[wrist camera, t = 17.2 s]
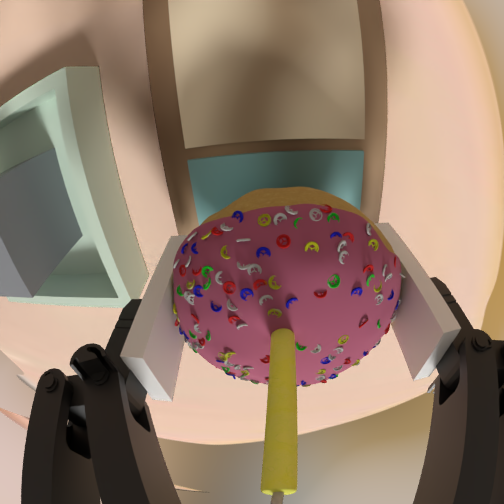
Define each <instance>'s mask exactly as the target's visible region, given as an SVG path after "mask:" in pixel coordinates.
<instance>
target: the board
mask: <svg viewBox="0 0 504 504" xmlns="http://www.w3.org/2000/svg"><path fill="white" fill-rule="evenodd" d="M143 18H144V32H145V43H146V54H147V63H148V72H149V80H150V88H151V95H152V102H153V109H154V115H155V121H156V128H157V134H158V139H159V145H160V150H161V156H162V161H163V166H164V171H165V176H166V181H167V186H168V191H169V195H170V200H171V204H172V209H173V213H174V217H175V222H176V226H177V230H178V234H179V236H181V235H187V236H188V235H189V234H190V233H191V232H192V231H193V230H194V229H195V228H197V227H198V226H200V225H201V224H202V222H203V221H204V220H205V219H206V218H208V217H209V216H211V215H212V214H214V213H217V212H218V211H220V210H222V209H223V208H225V207H227V206H228V205H229V204H231V203H232V202H234V201H235V200H237V199H238V198H240V197H242V196H243V195H245V194H247V193H249V192H251V191H254V190H257V189H264V188H287V187H309V188H314V189H318V190H322V191H325V192H327V193H330V194H332V195H335V196H337V197H339V198H341V199H343V200H345V201H347V202H348V203H350V204H351V205H353V206H354V207H356V208H357V209H358V210H360V211H361V212H362V213H363V214H364V215H366V216H367V217H368V218H369V219H370V220H371V221H372V222H373V223H378V221H379V214H380V206H381V198H382V190H383V180H384V169H385V156H386V139H387V68H386V52H385V40H384V30H383V22H382V14H381V8H380V1H379V0H143Z"/></svg>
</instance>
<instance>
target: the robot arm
mask: <svg viewBox="0 0 504 504" xmlns="http://www.w3.org/2000/svg"><path fill="white" fill-rule="evenodd" d="M374 224H375V225H376V226H377V227H378V228H379V230H380V231H381V232H382V234H383V235H384V236H385V238H386V239H387V240H388V242H389V243H390V245H391V246H392V248H393V251H394V253H395V254H396V255H397V256H398V257H399V259H400V263H401V273H402V274H403V275H404V276H405V278H404V277H402V276H401V289H400V295H399V299H401V303H400V305H399V306H398V307H397V309H396V310H395V311H396V312H397V317H396V319H395V320H394V321H393V322H391V325H392V328H393V330H394V332H395V335H396V337H397V340H398V342H399V345H400V347H401V350H402V352H403V355H404V357H405V360H406V363H407V365H408V368H409V371H410V373H411V376H412V379H413V381H414V380H418V379H421V378H425V377H428V376H430V375H431V373H432V372H433V371H434V369H435V368H437V370H438V373H439V375H438V376H437V378H436V379H435V380H434V382H433V383H432V384H431V385H430V387H429V388H428V391H427V393H430V392H431V391H432V389H433V388H434V387H435V390H434V392H433V393H434V403H433V413H432V420H431V427H430V434H429V440H428V446H427V451H426V456H425V461H424V465H423V469H422V474H421V478H420V482H419V485H418V489H417V492H416V495H415V499H414V502H413V504H504V341H501V340H492V339H491V338H490V337H489V336H488V334H486V333H485V332H484V331H482V330H479V329H473V327H472V325H471V324H470V322H469V320H468V319H467V317H466V316H465V314H464V312H463V311H462V309H461V308H460V306H459V304H458V303H456V300H455V298H454V297H453V295H451V292H450V291H449V289H448V288H447V286H446V285H445V284H444V283H443V282H441V281H440V280H439V279H438V278H436V277H433V278H429V276H428V275H427V273H426V272H425V270H424V269H423V267H422V266H421V265H420V263H419V262H418V260H417V259H416V258H415V256H414V255H413V254H412V252H411V251H410V250H409V248H408V247H407V246H406V244H405V243H404V242H403V240H402V239H401V238H400V237H399V235H398V234H397V233H396V231H395V230H394V229H393V228H392V227H391V225H390V224H389V223H374ZM186 237H187V235H181V236H171V237H170V240H169V242H168V244H167V246H166V248H165V250H164V252H163V254H162V256H161V258H160V261H159V263H158V265H157V267H156V269H155V271H154V274H153V276H152V278H151V280H150V283H149V285H148V287H147V290H146V292H145V294H144V297H143V299H131V301H130V302H129V303H128V304H127V305H126V306H125V307H124V308H123V310H122V312H121V314H120V316H119V320H118V321H117V323H116V325H115V329H114V330H113V332H112V335H111V337H110V339H109V342H108V344H107V347H106V349H105V350H104V349H103V348H102V347H101V346H100V345H97V344H94V343H93V344H86V345H84V346H82V347H80V348H79V349H78V350H77V351H76V352H75V353H74V354H73V356H72V358H71V361H70V366H71V367H72V369H73V370H74V371H75V372H76V373H77V374H78V375H73V376H66V375H65V374H64V373H63V372H62V371H61V370H59V369H55V368H54V369H49V370H48V371H46V372H45V373H44V374H43V375H42V376H41V377H40V380H39V382H38V385H37V389H36V393H35V397H34V401H33V405H32V410H31V415H30V420H29V425H28V430H27V437H26V444H25V451H24V459H23V470H22V489H21V504H100V498H101V501H102V504H181V502H180V500H179V497H178V495H177V492H176V490H175V487H174V485H173V482H172V480H171V477H170V474H169V472H168V469H167V466H166V463H165V461H164V457H163V455H162V451H161V448H160V446H159V442H158V439H157V436H156V432H155V429H154V425H153V422H152V418H151V414H150V411H149V407H148V405H147V403H146V402H145V399H146V395H147V393H148V394H149V395H150V397H151V398H152V399H154V400H163V401H173V396H174V390H175V385H176V380H177V375H178V370H179V365H180V360H181V355H182V351H183V346H184V341H185V340H184V334H183V335H181V334H180V332H179V325H178V326H175V321H176V319H177V317H176V314H175V313H174V312H173V305H174V282H173V263H174V259H175V256H176V253H177V251H178V249H179V247H180V245H181V244H182V242H183V241H184V240H185V238H186ZM68 420H69V422H68ZM67 422H68V424H67Z"/></svg>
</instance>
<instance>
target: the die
mask: <svg viewBox="0 0 504 504" xmlns="http://www.w3.org/2000/svg"><path fill="white" fill-rule="evenodd" d="M82 236H83V234H82V232H81V229H80V227H79V224H78V221H77V219H76V216H75V213H74V210H73V208H72V205H71V202H70V199H69V196H68V193H67V189H66V186H65V183H64V180H63V176H62V173H61V169H60V166H59V162H58V158H57V154H56V150H55V148H52V149H50V150H48V151H45V152H43V153H41V154H38V155H36V156H34V157H32V158H30V159H28V160H25V161H23V162H21V163H19V164H17V165H15V166H13V167H11V168H9V169H7V170H6V171H4V172H2V173H0V296H6V297H24V298H33V297H34V296H35V294H36V293H37V292H38V290H39V289H40V287H41V286H42V285H43V283H44V282H45V281H46V279H47V278H48V277H49V276H50V274H51V273H52V272H53V270H54V269H55V268H56V267H57V265H58V264H59V263H60V262H61V260H62V259H63V258H64V257H65V256H66V254H67V253H68V252H69V251H70V250H71V249H72V247H73V246H74V245H75V244H76V243H77V242H78V240H79V239H80V238H81V237H82Z"/></svg>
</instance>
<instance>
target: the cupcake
mask: <svg viewBox="0 0 504 504" xmlns="http://www.w3.org/2000/svg"><path fill="white" fill-rule="evenodd" d="M401 276H402V277H404V278H405V276H404V275H403V274H402V273H401V263H400V259H399V257H398V256H397V255H396V254H395V253H394V251H393V248H392V246H391V245H390V243H389V242H388V240H387V239H386V238H385V236H384V235H383V234H382V232H381V231H380V230H379V228H378V227H377V226H376V225H375V224H374V223H373V222H372V221H371V220H370V219H369V218H368V217H367V216H366V215H364V214H363V213H362V212H361V211H360V210H358V209H357V208H356V207H354V206H353V205H351V204H350V203H348V202H347V201H345V200H343V199H341V198H339V197H337V196H335V195H332V194H330V193H327V192H325V191H322V190H318V189H314V188H309V187H287V188H264V189H257V190H254V191H251V192H249V193H247V194H245V195H243V196H242V197H240V198H238V199H237V200H235V201H234V202H232V203H231V204H229V205H228V206H227V207H225V208H223V209H222V210H220V211H218V212H217V213H214V214H212V215H211V216H209V217H208V218H206V219H205V220H204V221H203V222H202V224H201V225H200V226H198V227H197V228H195V229H194V230H193V231H192V232H191V233H190V234H189V235H188V236H187V237H186V238H185V240H184V241H183V242H182V244H181V245H180V247H179V249H178V251H177V253H176V256H175V259H174V263H173V282H174V305H173V312H174V313H175V314H176V317H177V319H176V321H175V326H178V325H179V332H180V334H181V335H183V334H184V340H185V342H186V343H188V342H189V343H188V346H189V347H190V348H192V349H193V351H194V352H195V353H197V352H198V353H199V354H200V355H201V356H202V357H203V358H204V359H206V360H207V361H208V362H209V363H211V364H212V365H214V366H215V367H216V368H219V369H221V370H223V371H225V373H226V374H227V375H229V376H233V378H234V379H236V378H235V376H237V377H238V378H241V380H247V381H251V382H252V383H254V384H258V383H264V384H268V399H267V414H266V428H265V443H264V455H263V467H262V479H261V492H262V493H265V494H269V495H272V499H271V504H282V502H283V497H284V495H287V494H293V493H295V492H296V490H297V386H299V385H302V386H303V387H307V386H310V385H311V384H316V383H320V382H322V383H326V382H327V381H326V380H328V379H334V378H336V377H338V374H339V373H340V372H342V371H344V370H346V369H348V368H350V367H351V366H354V365H359V362H360V359H362V358H363V357H364V356H366V355H368V353H369V351H370V350H371V349H372V348H375V347H376V346H377V345H378V344H379V343H380V341H381V337H382V336H383V335H384V334H387V333H388V331H389V328H390V323H391V322H393V321H394V320H395V319H396V317H397V312H396V311H395V310H396V309H397V307H398V306H399V305H400V303H401V299H399V295H400V289H401ZM186 339H187V340H186ZM377 342H378V343H377ZM375 345H376V346H375ZM194 349H195V350H194Z"/></svg>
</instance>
